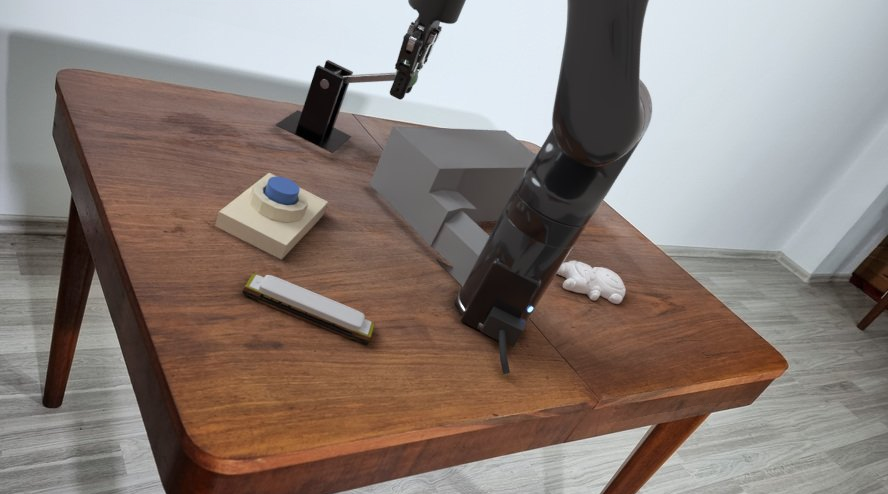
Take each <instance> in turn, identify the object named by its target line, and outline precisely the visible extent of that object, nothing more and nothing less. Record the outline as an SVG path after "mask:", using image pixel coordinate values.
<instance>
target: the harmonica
mask: <svg viewBox="0 0 888 494" xmlns="http://www.w3.org/2000/svg"><path fill="white" fill-rule="evenodd" d="M242 294H244V295H245V296H249V297H250V298H253V299H255V300H257V301H258V302H259V303H262V304H264V305H266V306H268V307H271V308H274V309H276V310H278V311H281V312H283V313H286V314H288V315H291V316H293V317H296V318H298V319H300V320H303V321H306V322H308V323H310V324H312V325H315V326H317V327H320V328H323V329H325V330H328V331H329V332H332V333H334V334H337V335H340V336H342V337H344V338H347V339H351V340H352V339H353V340H355V341H358V342H361V343H363V344H366V345H368V344H369V343H370V340H371V338H372V336H373V335H372V334H373V333H374V332H373V331H374V329H375V325H376V323H375V322H373V320H369V319H367V318H365V317H366V314H364V313H363V312H362V311H360V310H357V309H355V308H353V307H351V306H348V305H346V304H343V303H341V302H338V301H335V300H333V299H331V298H328V297H326V296H324V295H321V294H319V293H316V292H313V291H311V290H309V289H306V288H304V287H302V286H299V285H297V284H294V283H292V282H290V281H287V280H285V279H282V278H280V277H277V276H275V275H271V274H265V275H264V276H262V275H260V274H257V273H254V272H253V273H252V274H251V276H250V277H249V278H248V280H247V281H246V284H245V285H244V287H243V290H242Z"/></svg>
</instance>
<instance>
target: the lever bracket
mask: <svg viewBox="0 0 888 494" xmlns="http://www.w3.org/2000/svg"><path fill="white" fill-rule="evenodd" d="M336 70H341V72H342V75H354V71H352V70H350V69H348V68H346V67H343V66H342V65H340V64H338V63H336V62H334V61H332V60H330V59H327V60H325V62H324V66H322V65H320V64H319V65H316V67H315V69H314V72H313V76H312V79H311V82H310V85H309V88H308V91H307V94H306V98H305V101H304V103H303V107H302V110H299V109H297V110H295V111H293V112H292V113H291V114H289V115H287V116H286V117H285V118H284V119H282V120H280V121H279V122H277V123H276V124H275V126H276V127H278V128H281V130H284V131H286V132H289V133H290V134H292V135H294V136H296V137H298V138H300V139H303V140H305V141H306V142H309V143H311V144H313V145H315V146H317V147H319V148H321V149H323V150H324V151H327V152H329V153H331V154H334V152H336V150H339V148H340V147H342V145H343V144H344V143H346V142H347V141H348V140H349V139H350V138H352V136H351V135H350V134H347V133H346V132H344V131H342V130H340V129H337V128H336V127H335V125H336V122H337V120H338V116H339V114H340V110H341V108H342V105H343V102H344V99H345V96H346V94H347V91H348V88H349V85H350V83H343V81H344V77H342V76H340V75H338V74H336V73H334V72H332V71H336ZM342 84H343V86H342Z"/></svg>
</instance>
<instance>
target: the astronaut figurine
mask: <svg viewBox="0 0 888 494" xmlns="http://www.w3.org/2000/svg"><path fill="white" fill-rule="evenodd" d="M556 275H558V276H561V277H563V278H565V280H564V281H563V283H562V285H561V286H562V288H563V289H564V290H566V291H570V292H573V293H577V294H584V295H587V297H588V298H589V299H590V300H591V301H595V302H596V301H597V300H598V299H599V297H602V298H604V299H606V300H607V301H608V302H610V303H612V304H616V305H619V304H621V302H623V299H624V297H625V295H626V291H627V290H626V286H625V283H624V281H623V280H622V278H621V277H620V276H619V274H617V273H616V272H614V271H613V270H611V269H609V268H606V267H601V266H600V267H599V266H594V267H592V266H591V265H589V264H587V263H585V262H582V261H577V260H569V261H564V262H563V264H562V265H561V267H560V269H559V270H558V272H557V274H556Z"/></svg>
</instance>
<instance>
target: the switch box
mask: <svg viewBox="0 0 888 494" xmlns="http://www.w3.org/2000/svg"><path fill="white" fill-rule="evenodd" d="M276 176H277V175H275V174H273V173H271V172H268V173H267V174H265V175H264V176H263V177H261V178H260V179H259V180H258V181H256V182H255V183H254V184H252V185H251V186H249V187H248V188H247V189H246V190H245V191H243V192H241V194H240V195H238V196H237V197H236V198H234V199H233V200H232V201H231V202H229V203H228V204H227V205H225V206H224V207H223V208H222V209H220V210H219V211H218V214H217V218H216V221H215V225H214V227H215V228H218V229H220V230H222V231H224V232H226V233H228V234H230V235H231V236H233V237H236V238H237V239H240V240H242V241H243V242H245V243H247V244H249V245H251V246H253V247H255V248H257V249H259V250H262V251H263V252H265V253H267V254H269V255H272V256H274V257H275V258H277V259H280V260H283V259H284V258H285V257H286V255H288V253H289V252H291V251H292V250H293V248H294V247H296V245H297V244H298V243H299V242H300V241H301V240H303V238H304V237H305V236H306V234H308V233H309V231H310V230H311V229H313V227H314V226H315V225H316V224H317V223H318V222H319V221H320V219H322V218H323V216H324V215H325V212H326V210H327V208H328V205H329V201H327V200H325V199H324V198H322V197H319V196H317V195H315V194H314V193H311V192H309V191H307V190H305V189H304V188H301V187H299V189H300V191H299V194H298V197H297V200H296V202H295V204H294V205H283V204H278V203H276V202H274V201H272V200H270V199H269V198H268V197H267V196H266V195H265V189H266V186H267V183H268V180H269V179H270V178H271V177H276Z"/></svg>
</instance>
